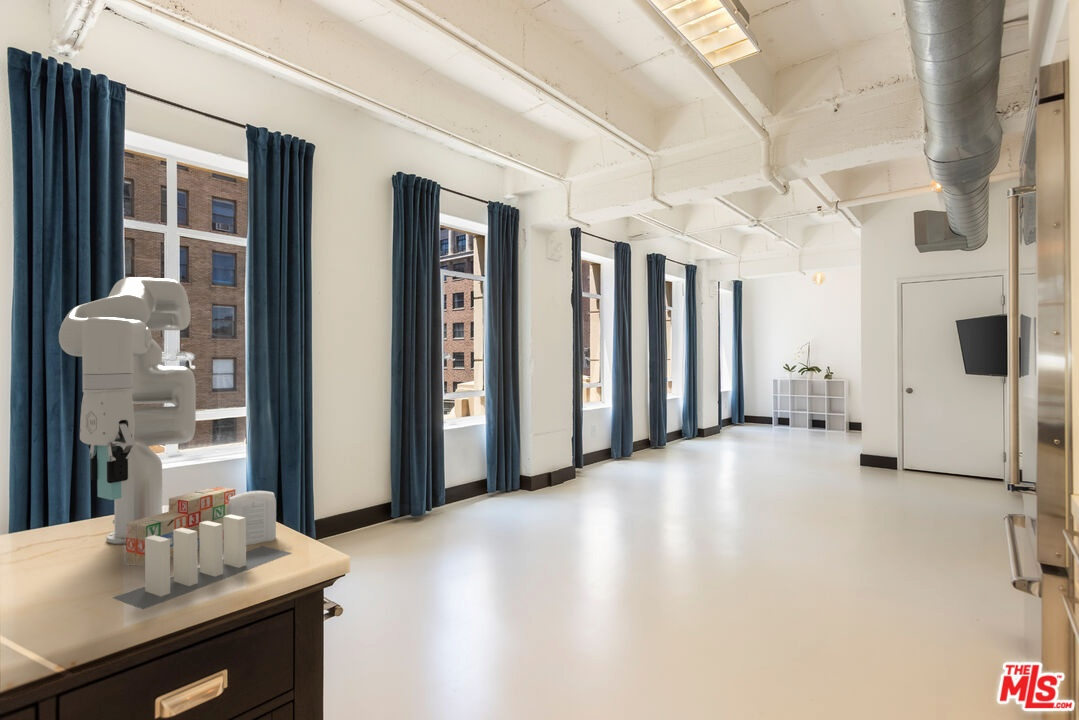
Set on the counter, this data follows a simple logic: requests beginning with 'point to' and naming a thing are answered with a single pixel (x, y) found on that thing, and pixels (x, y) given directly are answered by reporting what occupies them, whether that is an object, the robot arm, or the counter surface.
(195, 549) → the domino
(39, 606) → the counter surface
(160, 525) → the stack of blocks
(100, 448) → the domino
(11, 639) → the counter surface
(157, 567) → the domino
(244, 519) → the domino
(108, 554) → the counter surface
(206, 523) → the domino
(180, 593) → the domino mat
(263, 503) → the white rounded slab
